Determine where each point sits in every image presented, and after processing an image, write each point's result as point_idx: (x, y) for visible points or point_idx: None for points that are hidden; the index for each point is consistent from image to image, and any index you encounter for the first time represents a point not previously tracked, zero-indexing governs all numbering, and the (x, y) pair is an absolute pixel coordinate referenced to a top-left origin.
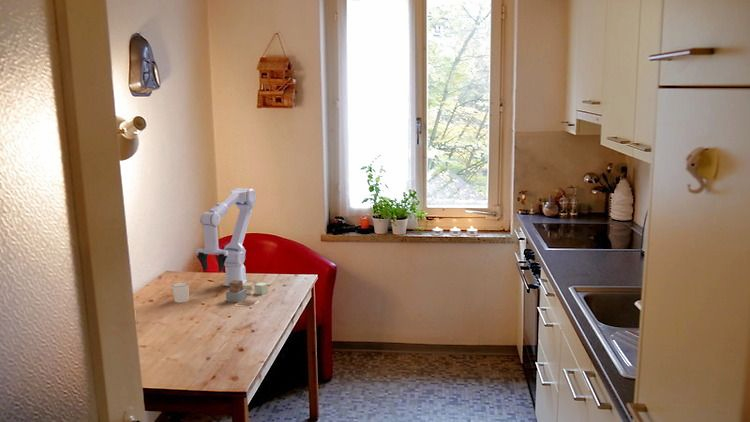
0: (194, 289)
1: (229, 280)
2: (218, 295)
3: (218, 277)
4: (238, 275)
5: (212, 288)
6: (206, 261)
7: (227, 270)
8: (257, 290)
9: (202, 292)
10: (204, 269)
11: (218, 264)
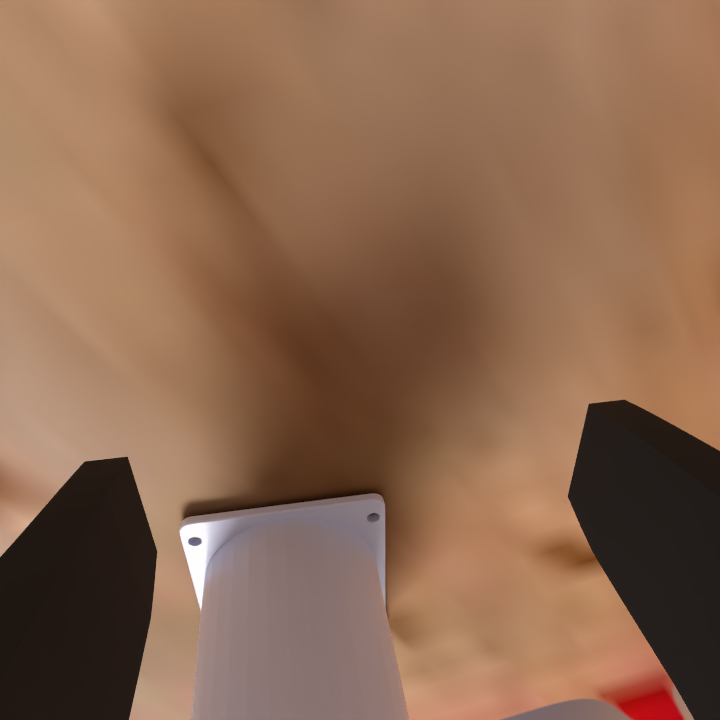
0: (642, 288)
1: (296, 560)
2: (177, 162)
3: (544, 630)
4: (199, 660)
5: (441, 387)
6: (710, 706)
7: (334, 684)
8: None
9: (489, 214)
10: (609, 417)
11: (6, 664)
